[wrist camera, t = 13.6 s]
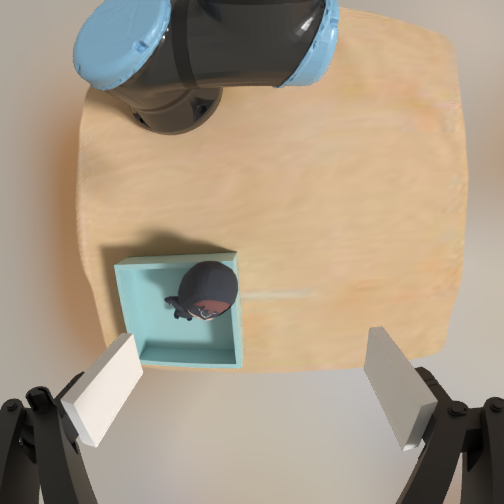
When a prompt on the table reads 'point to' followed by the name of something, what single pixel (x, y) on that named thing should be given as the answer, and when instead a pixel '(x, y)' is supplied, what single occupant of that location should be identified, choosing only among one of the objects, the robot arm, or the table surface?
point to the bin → (162, 314)
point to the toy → (205, 291)
